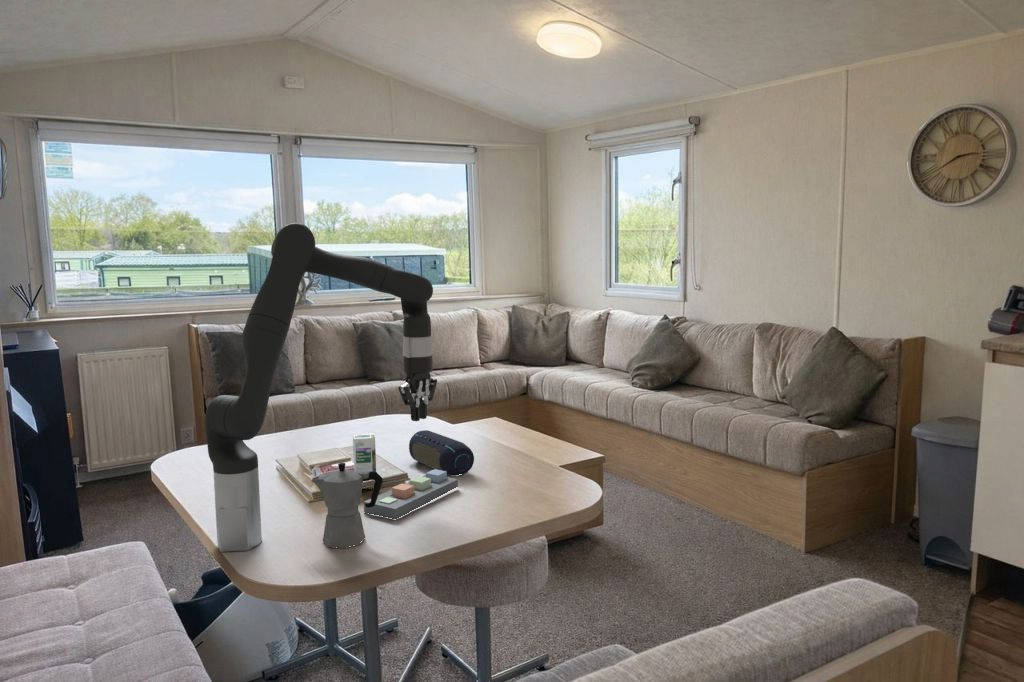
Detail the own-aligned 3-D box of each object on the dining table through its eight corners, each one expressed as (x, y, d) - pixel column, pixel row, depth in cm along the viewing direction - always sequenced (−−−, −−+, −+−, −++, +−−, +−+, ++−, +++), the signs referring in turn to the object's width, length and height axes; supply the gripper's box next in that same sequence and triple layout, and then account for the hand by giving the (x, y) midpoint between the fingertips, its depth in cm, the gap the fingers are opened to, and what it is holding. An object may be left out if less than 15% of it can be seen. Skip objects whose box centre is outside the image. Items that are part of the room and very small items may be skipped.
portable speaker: (403, 462, 220) (403, 430, 219) (431, 456, 227) (430, 425, 225) (449, 482, 201) (448, 447, 200) (478, 475, 207) (477, 441, 206)
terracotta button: (404, 503, 180) (403, 490, 179) (391, 501, 182) (391, 487, 181) (414, 499, 183) (414, 485, 183) (402, 496, 185) (401, 483, 185)
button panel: (395, 520, 172) (395, 507, 172) (364, 513, 177) (363, 500, 177) (458, 490, 194) (457, 478, 194) (428, 484, 199) (428, 472, 199)
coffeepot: (312, 551, 155) (309, 471, 152) (315, 535, 164) (312, 458, 162) (384, 546, 158) (382, 466, 155) (383, 529, 167) (381, 454, 165)
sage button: (421, 495, 186) (421, 482, 185) (409, 493, 188) (409, 480, 187) (431, 491, 189) (430, 478, 188) (419, 488, 191) (418, 476, 191)
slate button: (438, 488, 191) (437, 475, 191) (426, 485, 194) (425, 473, 193) (446, 483, 195) (446, 471, 194) (435, 481, 197) (434, 469, 196)
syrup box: (355, 491, 194) (353, 438, 192) (354, 484, 199) (352, 433, 198) (376, 489, 195) (375, 437, 193) (375, 482, 201) (373, 432, 199)
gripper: (422, 349, 191) (424, 412, 194) (388, 356, 180) (390, 423, 182) (445, 351, 188) (446, 416, 190) (412, 358, 176) (413, 427, 178)
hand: (419, 419), depth 186 cm, fingers closed
